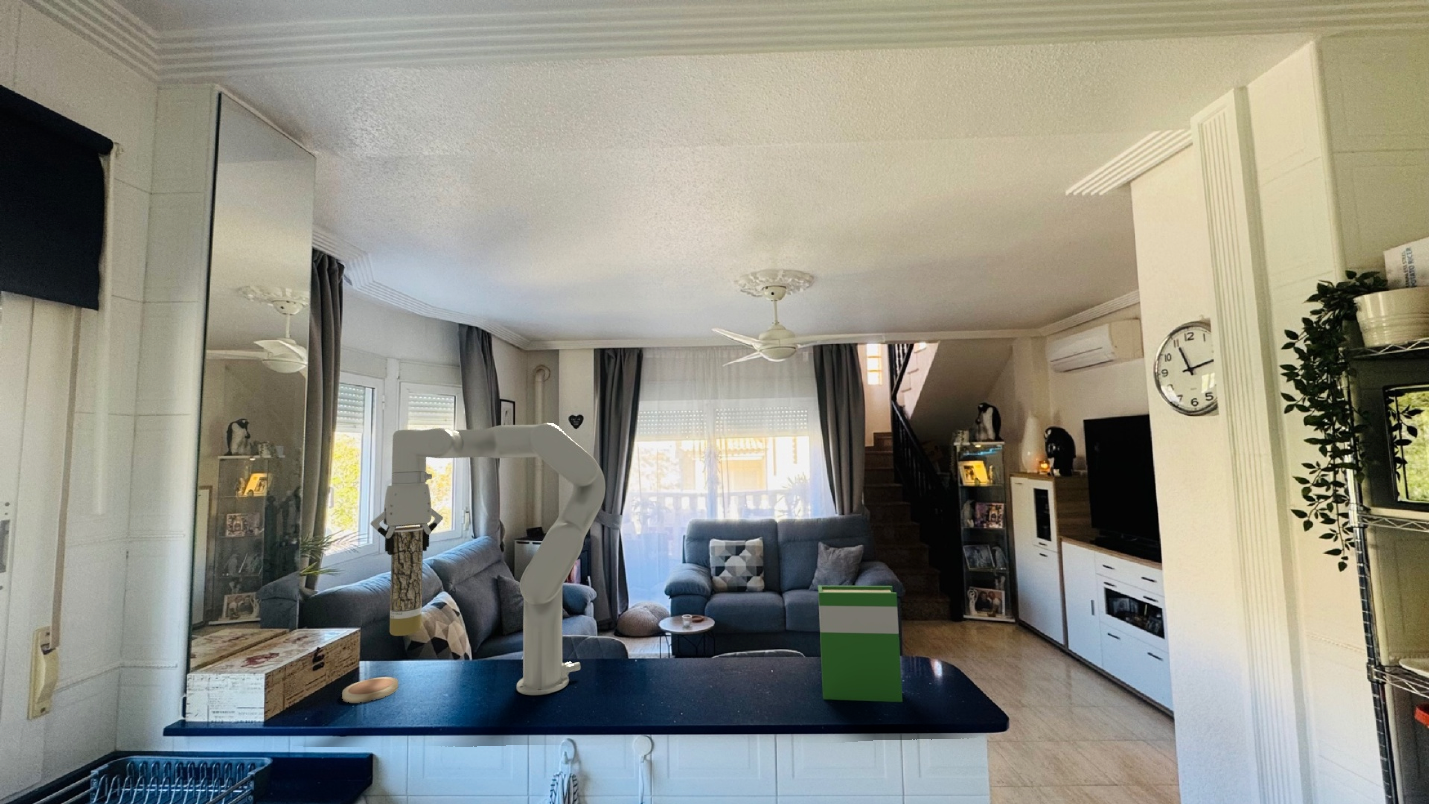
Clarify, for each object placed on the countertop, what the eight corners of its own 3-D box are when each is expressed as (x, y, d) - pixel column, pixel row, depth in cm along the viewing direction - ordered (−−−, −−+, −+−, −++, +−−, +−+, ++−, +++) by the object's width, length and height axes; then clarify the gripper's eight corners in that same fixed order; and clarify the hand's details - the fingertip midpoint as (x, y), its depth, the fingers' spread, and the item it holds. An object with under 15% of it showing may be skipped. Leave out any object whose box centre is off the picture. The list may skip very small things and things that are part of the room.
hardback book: (897, 688, 138) (891, 586, 140) (902, 702, 131) (896, 593, 133) (822, 686, 141) (818, 585, 143) (823, 699, 133) (818, 592, 136)
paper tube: (407, 637, 136) (410, 529, 139) (382, 636, 138) (385, 529, 140) (427, 628, 143) (429, 526, 145) (403, 627, 144) (405, 526, 147)
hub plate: (393, 679, 153) (393, 673, 153) (402, 693, 144) (402, 686, 144) (339, 692, 145) (339, 685, 146) (345, 707, 136) (345, 700, 136)
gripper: (442, 477, 152) (440, 546, 150) (365, 480, 141) (363, 555, 139) (450, 478, 146) (449, 549, 145) (371, 481, 135) (369, 559, 134)
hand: (407, 551), depth 142 cm, fingers closed on paper tube, 6 cm apart
